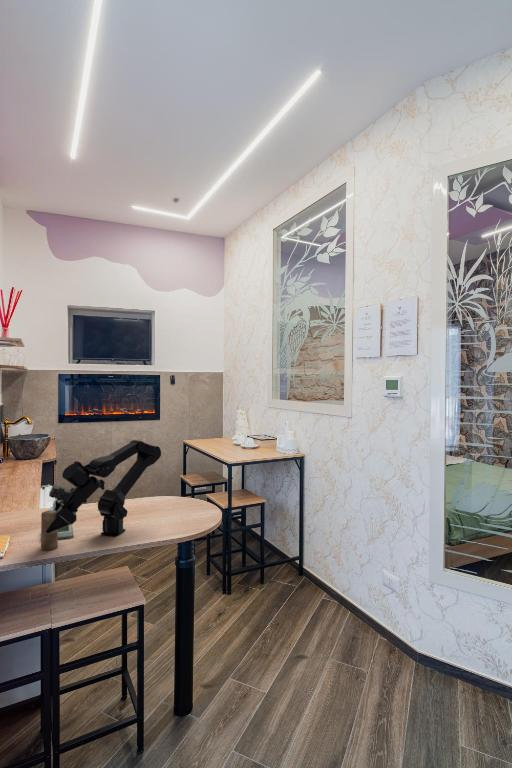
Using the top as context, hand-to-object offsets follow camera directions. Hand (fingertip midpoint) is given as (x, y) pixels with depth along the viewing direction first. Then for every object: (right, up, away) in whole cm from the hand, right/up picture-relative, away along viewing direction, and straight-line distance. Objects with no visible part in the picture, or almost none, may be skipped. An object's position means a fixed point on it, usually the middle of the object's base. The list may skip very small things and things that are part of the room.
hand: (46, 527), depth 143 cm
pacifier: (-15, -6, +34) cm, 38 cm away
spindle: (+1, -7, +1) cm, 7 cm away
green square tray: (-2, -7, +12) cm, 14 cm away
